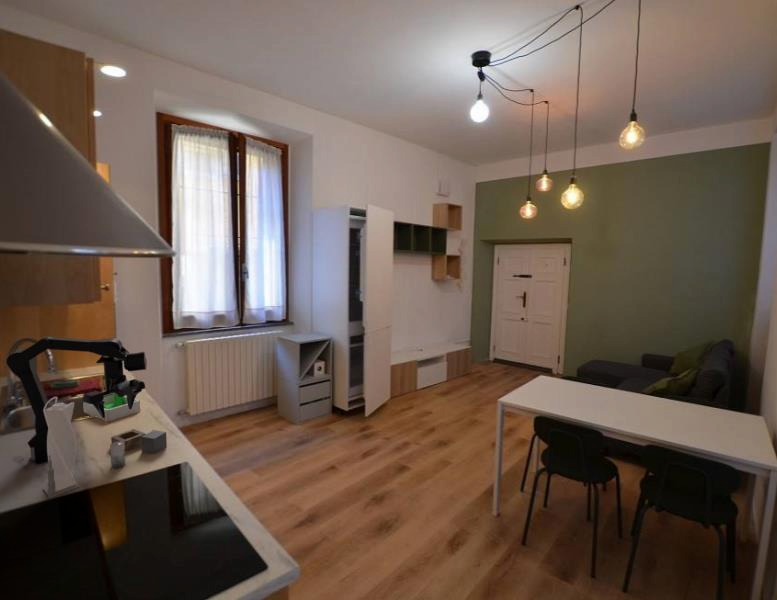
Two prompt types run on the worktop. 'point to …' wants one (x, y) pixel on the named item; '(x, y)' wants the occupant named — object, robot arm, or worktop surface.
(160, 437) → the grey cube
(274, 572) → the worktop surface
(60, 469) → the white tall twisted piece
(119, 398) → the mechanical part
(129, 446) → the socket block
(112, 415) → the part corral
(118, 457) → the grey cylinder
